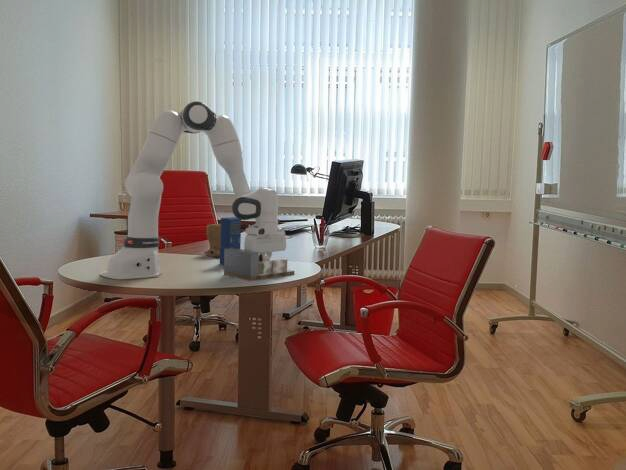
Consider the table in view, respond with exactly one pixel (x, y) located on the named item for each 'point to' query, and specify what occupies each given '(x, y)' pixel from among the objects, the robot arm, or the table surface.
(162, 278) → the table surface
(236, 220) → the electronic device
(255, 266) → the grey rectangular block
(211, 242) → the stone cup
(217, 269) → the table surface
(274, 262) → the gauge base
